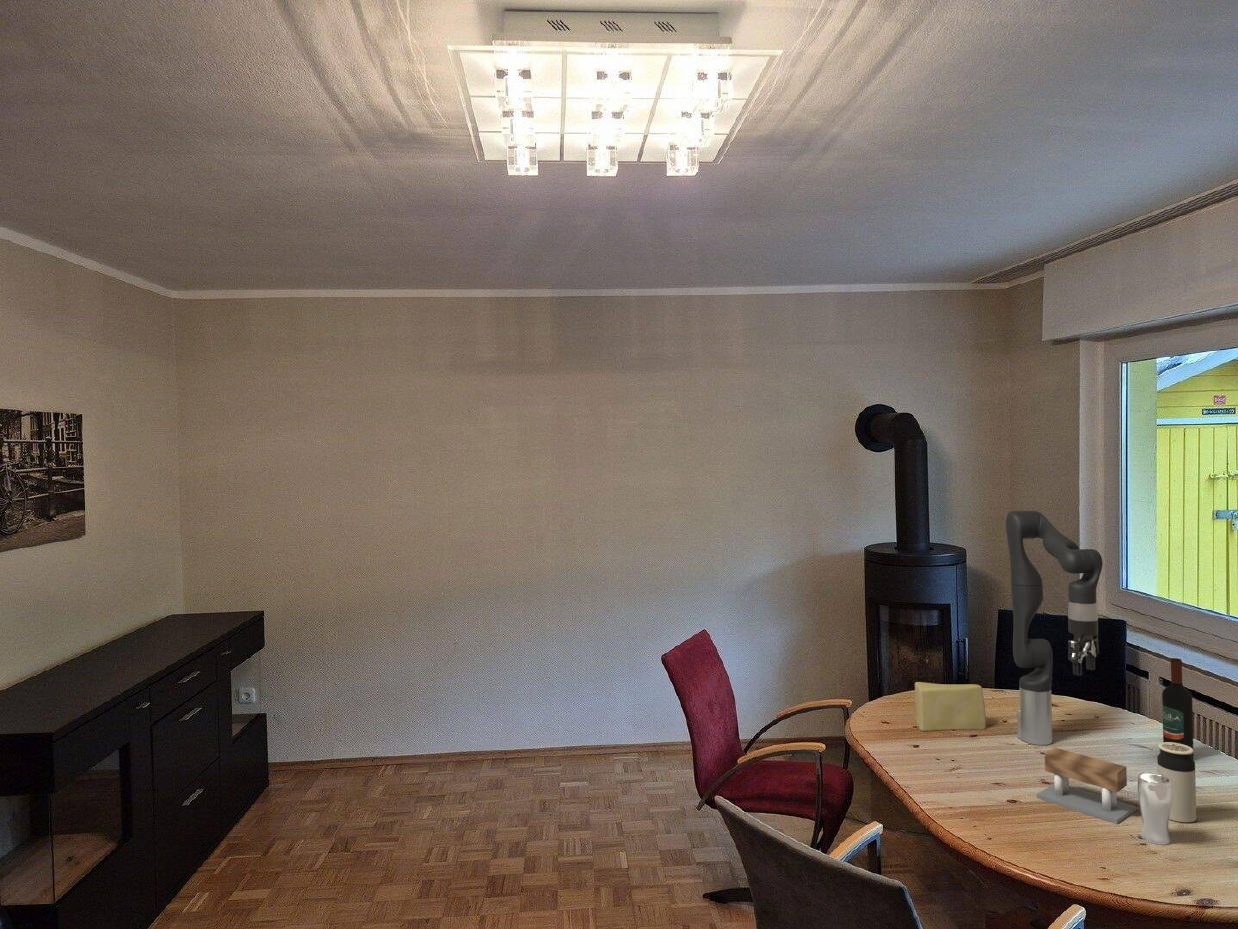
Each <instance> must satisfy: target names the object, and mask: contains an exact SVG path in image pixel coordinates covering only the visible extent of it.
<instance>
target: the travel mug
mask: <svg viewBox="0 0 1238 929" xmlns="http://www.w3.org/2000/svg"><path fill="white" fill-rule="evenodd" d="M1157 747H1158V748H1159V753H1158V755H1157V758H1156V759H1157V765H1156V766H1157V774H1159V775H1163V776H1165V777H1167V778H1169V779H1170V781H1171V782H1170V783H1171V791H1172V807H1171V813H1170V818H1169V821H1170V820H1171V821H1173V822H1177V823H1193V822H1195V821H1196V820H1197V793H1196V792H1197V789H1196V787H1197V785H1196V783H1197V782H1196V762H1195V760H1193V758H1192V753H1193V752H1194V748H1193V749H1192V748H1191V747H1189V746H1186V745H1183V744H1179V743H1173V742H1163V741H1162V742H1159V743H1158V745H1157ZM1194 753H1195V752H1194Z"/></svg>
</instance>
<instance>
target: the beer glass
mask: <svg viewBox="0 0 1238 929" xmlns="http://www.w3.org/2000/svg"><path fill="white" fill-rule="evenodd" d="M1137 777H1138V779H1137V802H1138V806H1139V810H1140V814H1141V820H1142V821H1141V822H1142V825H1141V830H1140V837H1141V838H1142V839H1143V840H1145V841H1147V842H1148V843H1151V844H1154V845H1161V846H1166V845H1169V844H1171V842H1172V841H1171V836H1170V835H1171V834H1170V831H1169V824H1170V819H1169V818H1170V813H1171V807H1172V791H1171V783H1170V782H1171V781H1170V779H1169V778H1167V777H1165V776H1163V775H1159V774H1158V773H1153V772H1141V773H1139V774H1138V775H1137Z"/></svg>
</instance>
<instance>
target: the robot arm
mask: <svg viewBox="0 0 1238 929" xmlns="http://www.w3.org/2000/svg"><path fill="white" fill-rule="evenodd" d="M1005 530H1006V537H1007V538H1006V539H1007V545H1008V552H1009V562H1010V588H1011V590H1010V591H1011V600H1012V601H1011V602H1012V603H1011V604H1012V613H1013V614H1012V615H1013V627H1012V628H1013V629H1012V631H1013V632H1012V654H1013V655H1012V656H1013V660H1014V663H1015V665H1016V666H1017V667H1018V668H1021V669H1023V668H1025V669H1031V668H1032V669H1034V670H1033V671H1031V672H1030V673H1028V674H1025V675H1023V676H1021V677H1020V678H1019V680H1018V681H1019V682H1018V683H1019V708H1018V709H1017V714H1016V715H1017V739H1018V740H1021V741H1024V742H1025V743H1029V744H1032V745H1036V746H1037V745H1038V746H1046V745H1051V744H1053V714H1052V713H1053V712H1052V711H1053V710H1052V709H1053V708H1052V702H1053V701H1052V684H1053V683H1052V682H1053V663H1054V662H1053V660H1054V658H1053V655H1054V654H1053V649H1052V648H1053V647H1052V646H1051V643H1050V642H1049V640H1047V639H1045V638H1028V632H1029V627H1030V625H1031V622H1032V620H1033V619H1034V617H1035V615H1036V614H1037V612H1038V611H1039V609H1040V607H1041V605H1042V603H1043V601H1044V588H1043V587H1044V586H1043V579H1042V576H1041V575H1040V572H1039V571H1038V570H1037V568H1036V567H1035V566H1034V564H1033V563H1032V562H1031V560H1030V559H1029V557H1028V555H1027V553H1026V549H1025V547H1024V540H1025V539H1026V540H1027V539H1029V540H1030V539H1032V540H1033V539H1041V540H1042V547H1043V548H1044V550H1045V551H1046V552H1047V553H1048V554H1049V555H1051V556H1052V557H1053V558H1055V559H1056V560H1057V561H1058V563H1059V565H1060V567H1061V568H1062V570H1063V571H1064V572H1067V573H1069V574H1077V575H1079V574H1082V575H1081V578H1079V579H1076V580H1073V581H1071V582H1069V583H1068V587H1067V588H1068V589H1067V590H1068V606H1067V621H1068V622H1067V624H1068V626H1067V627H1068V628H1067V630H1068V632H1069V633H1070V634H1072V635H1073V640H1072V639H1068V642H1067V658H1068V659H1067V660H1068V661H1070V662H1072V674H1073V675H1074V676H1078V677H1080V676H1082V675H1083V664H1082V662H1083V659H1084V657H1085V668H1086V670H1087V671H1094V670H1096V657H1097V655H1099V654H1100V647H1099V646H1100V645H1099V612H1098V611H1099V610H1098V603H1097V588H1098V584H1099V579H1100V576H1101V573H1102V570H1103V563H1104V561H1103V557H1102V555H1101V554H1100V552H1099V551H1098V550H1097V549H1093V548H1084V549H1083V548H1081V549H1080V547H1079V545H1078V544H1077V543H1076V542H1074V541H1073V540H1072V539H1070V538H1069V537H1067V536H1065V535H1064V534H1063V533H1062V532H1060V531H1059V530H1058V529H1057V528H1056V527H1055V526H1054V525H1053V524H1052V522H1051V521H1049V519H1048V518H1047V517H1046V516H1045V515H1044V514H1042V513H1041V512H1039V511H1037V510H1014V511H1013V510H1012V511H1010V512H1008V513H1007V515H1006V518H1005Z"/></svg>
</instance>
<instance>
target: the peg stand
mask: <svg viewBox="0 0 1238 929" xmlns="http://www.w3.org/2000/svg"><path fill="white" fill-rule="evenodd" d="M1053 778H1054V779H1053V780H1054V783H1053V784H1051V785H1049V786H1048V787H1046V788H1044V789H1043V790H1041V791H1039V792H1037V793H1036V798H1037V799H1039V800H1042V801H1045V802H1049V803H1051V804H1054V805H1058V806H1061V807H1064V808H1066V809H1070V810H1072V811H1075V812H1079V813H1082V814H1085V815H1088V816H1091V817H1094V818H1097V819H1101V820H1103V821H1106V822H1110V823H1112V824H1115V825H1118V824H1119V823H1120V822H1121V821H1123V820H1125V819H1126V818H1127V817H1129V816H1130V815H1131V814H1133V813H1135V811H1136V810H1137V805H1134V804H1130V803H1128V802H1127V803H1126V802H1124V801H1120V800H1118V798H1117V796H1118V795H1117V794H1118V792H1116V791H1112V790H1109V789H1105V788H1102V787H1101V795H1100V794H1097V793H1095V792H1090V791H1087V790H1084V789H1081V788H1078V787H1074V786H1071V785H1069V784H1070V778H1068V777H1064V776H1061V775H1057V774H1054V773H1053Z"/></svg>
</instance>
